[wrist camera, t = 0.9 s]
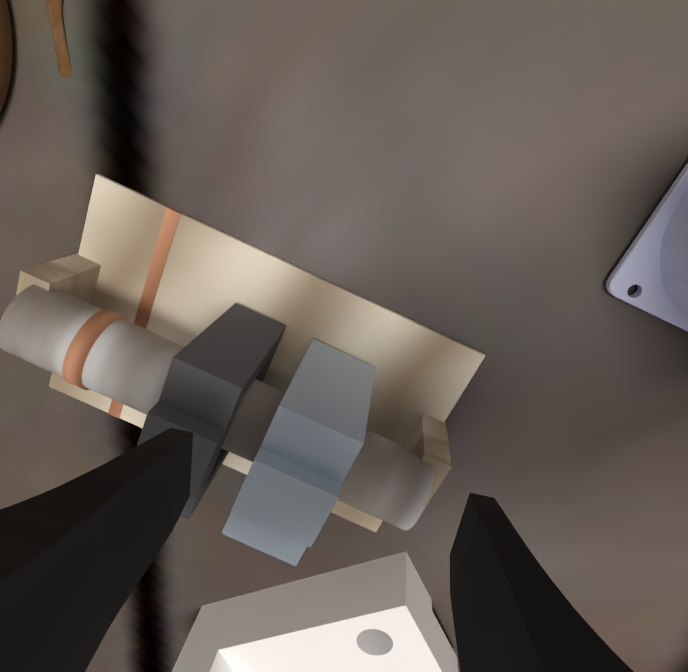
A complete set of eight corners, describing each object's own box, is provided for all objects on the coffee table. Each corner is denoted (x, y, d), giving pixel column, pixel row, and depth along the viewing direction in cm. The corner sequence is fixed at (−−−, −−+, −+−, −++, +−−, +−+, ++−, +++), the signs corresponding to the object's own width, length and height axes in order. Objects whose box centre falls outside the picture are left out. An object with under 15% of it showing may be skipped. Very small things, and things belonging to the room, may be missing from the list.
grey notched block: (286, 326, 21) (235, 398, 15) (241, 431, 23) (180, 533, 17) (235, 302, 21) (162, 366, 15) (195, 410, 23) (117, 505, 17)
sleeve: (375, 367, 21) (362, 456, 15) (322, 467, 23) (291, 581, 17) (313, 338, 21) (273, 416, 15) (265, 442, 23) (214, 547, 17)
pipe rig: (486, 355, 21) (509, 414, 16) (377, 530, 25) (370, 618, 20) (96, 173, 20) (1, 179, 15) (49, 383, 24) (-37, 439, 20)
